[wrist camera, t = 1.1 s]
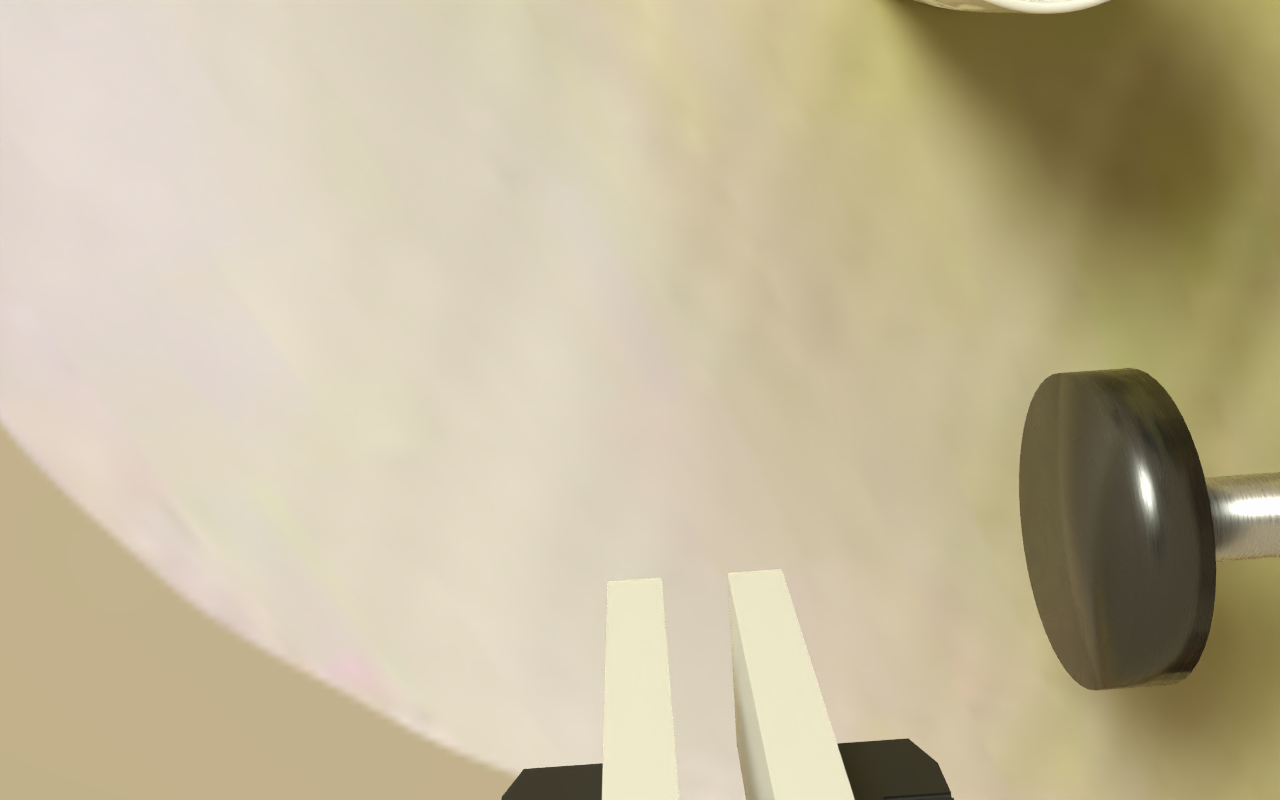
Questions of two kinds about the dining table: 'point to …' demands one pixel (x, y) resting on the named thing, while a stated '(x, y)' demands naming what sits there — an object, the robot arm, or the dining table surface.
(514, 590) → the dining table surface
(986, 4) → the white cup
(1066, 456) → the plunger
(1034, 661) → the dining table surface
